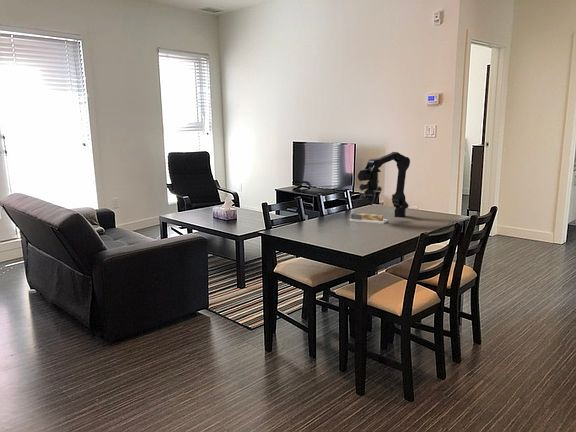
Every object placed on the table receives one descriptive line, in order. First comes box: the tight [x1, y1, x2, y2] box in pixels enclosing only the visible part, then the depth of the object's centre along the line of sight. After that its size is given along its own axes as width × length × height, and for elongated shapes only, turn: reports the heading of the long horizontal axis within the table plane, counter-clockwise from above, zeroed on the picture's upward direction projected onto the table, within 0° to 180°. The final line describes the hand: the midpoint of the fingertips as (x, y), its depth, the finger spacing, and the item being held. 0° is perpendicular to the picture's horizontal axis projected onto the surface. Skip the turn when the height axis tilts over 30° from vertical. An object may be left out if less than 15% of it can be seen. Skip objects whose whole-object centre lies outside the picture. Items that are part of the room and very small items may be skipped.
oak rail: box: [354, 212, 384, 221], centre depth 295 cm, size 18×4×3 cm, turn 62°
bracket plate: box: [349, 212, 388, 225], centre depth 295 cm, size 22×9×4 cm, turn 63°
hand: (373, 203), depth 295 cm, fingers open, 9 cm apart
